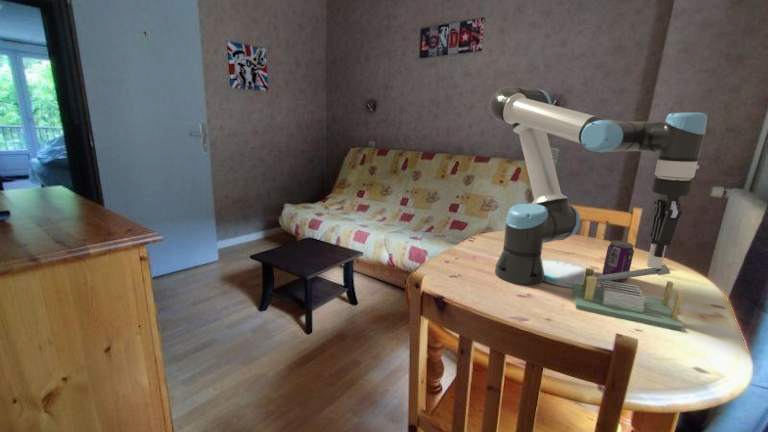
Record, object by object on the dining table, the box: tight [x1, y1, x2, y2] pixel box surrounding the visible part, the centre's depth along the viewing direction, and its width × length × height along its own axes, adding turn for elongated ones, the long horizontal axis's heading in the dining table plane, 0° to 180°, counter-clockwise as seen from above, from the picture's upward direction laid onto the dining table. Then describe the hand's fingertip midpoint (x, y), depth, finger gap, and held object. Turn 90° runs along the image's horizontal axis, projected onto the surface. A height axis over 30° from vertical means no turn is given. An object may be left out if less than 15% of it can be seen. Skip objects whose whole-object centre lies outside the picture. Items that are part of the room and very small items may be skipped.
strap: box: [586, 263, 671, 283], centre depth 94 cm, size 19×4×2 cm, turn 64°
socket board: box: [572, 282, 683, 332], centre depth 96 cm, size 23×15×1 cm, turn 65°
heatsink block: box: [598, 280, 645, 313], centre depth 95 cm, size 9×9×4 cm
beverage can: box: [601, 240, 635, 282], centre depth 112 cm, size 7×7×12 cm
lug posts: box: [582, 267, 684, 320], centre depth 94 cm, size 21×9×7 cm, turn 65°
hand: (653, 266), depth 90 cm, fingers closed
